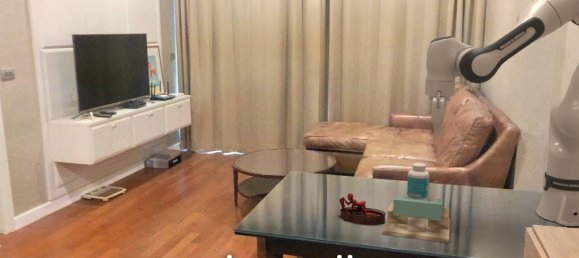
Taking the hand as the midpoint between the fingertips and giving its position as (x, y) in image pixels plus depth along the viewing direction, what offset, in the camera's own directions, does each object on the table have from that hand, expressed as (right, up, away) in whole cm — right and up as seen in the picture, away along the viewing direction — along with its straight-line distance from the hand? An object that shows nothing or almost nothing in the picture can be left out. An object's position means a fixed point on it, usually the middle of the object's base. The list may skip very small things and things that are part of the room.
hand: (437, 132), depth 153 cm
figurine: (-24, -29, +4) cm, 37 cm away
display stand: (-7, -30, -3) cm, 31 cm away
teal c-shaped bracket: (-7, -24, -3) cm, 26 cm away
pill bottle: (-1, -25, +21) cm, 33 cm away
